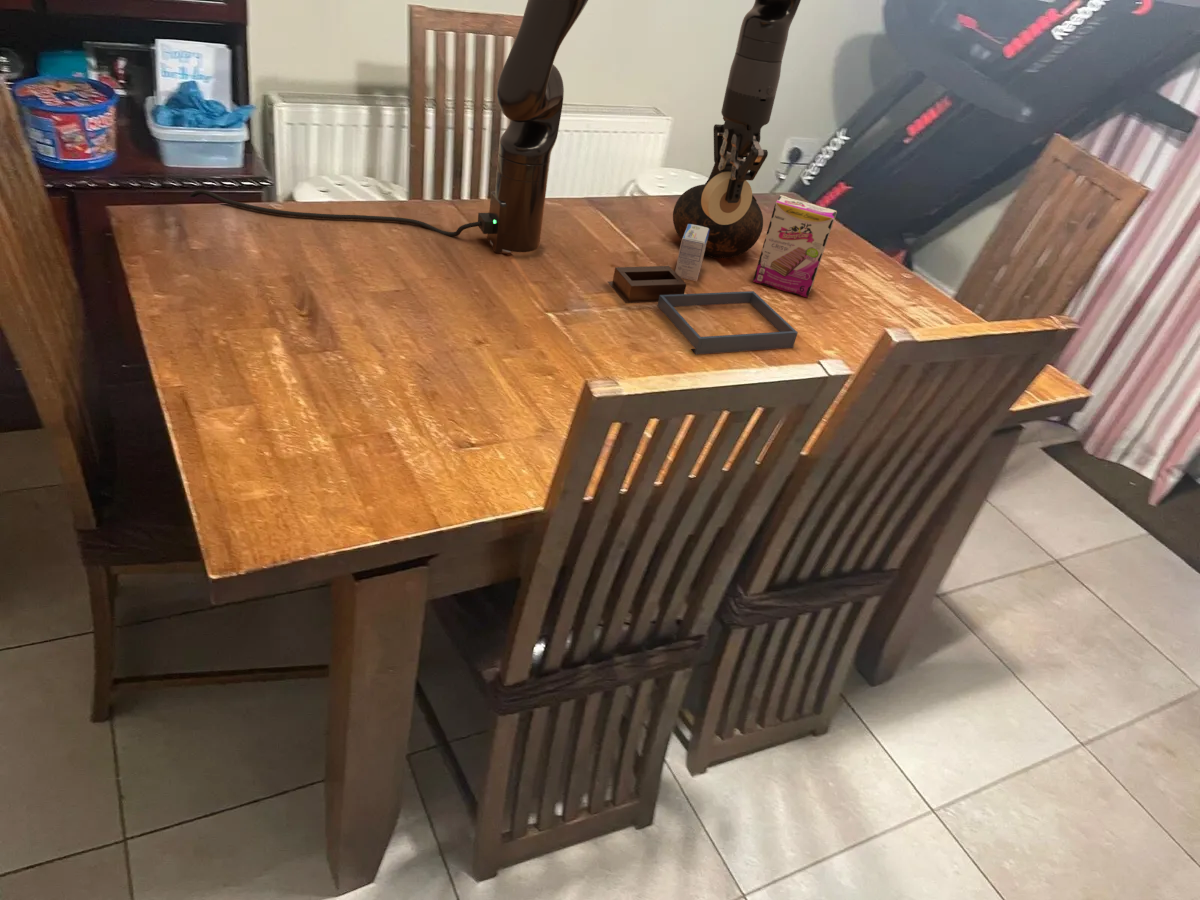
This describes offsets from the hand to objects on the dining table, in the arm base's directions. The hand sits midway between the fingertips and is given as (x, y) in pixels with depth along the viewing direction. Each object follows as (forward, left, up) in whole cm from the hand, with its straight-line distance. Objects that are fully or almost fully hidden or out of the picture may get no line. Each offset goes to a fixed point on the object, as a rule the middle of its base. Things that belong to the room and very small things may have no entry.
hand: (727, 197), depth 149 cm
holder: (-6, +9, -22) cm, 24 cm away
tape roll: (0, 0, -4) cm, 4 cm away
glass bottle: (+17, +27, -22) cm, 39 cm away
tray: (+3, -4, -22) cm, 22 cm away
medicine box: (+6, +16, -22) cm, 28 cm away
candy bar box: (+24, +10, -22) cm, 34 cm away
